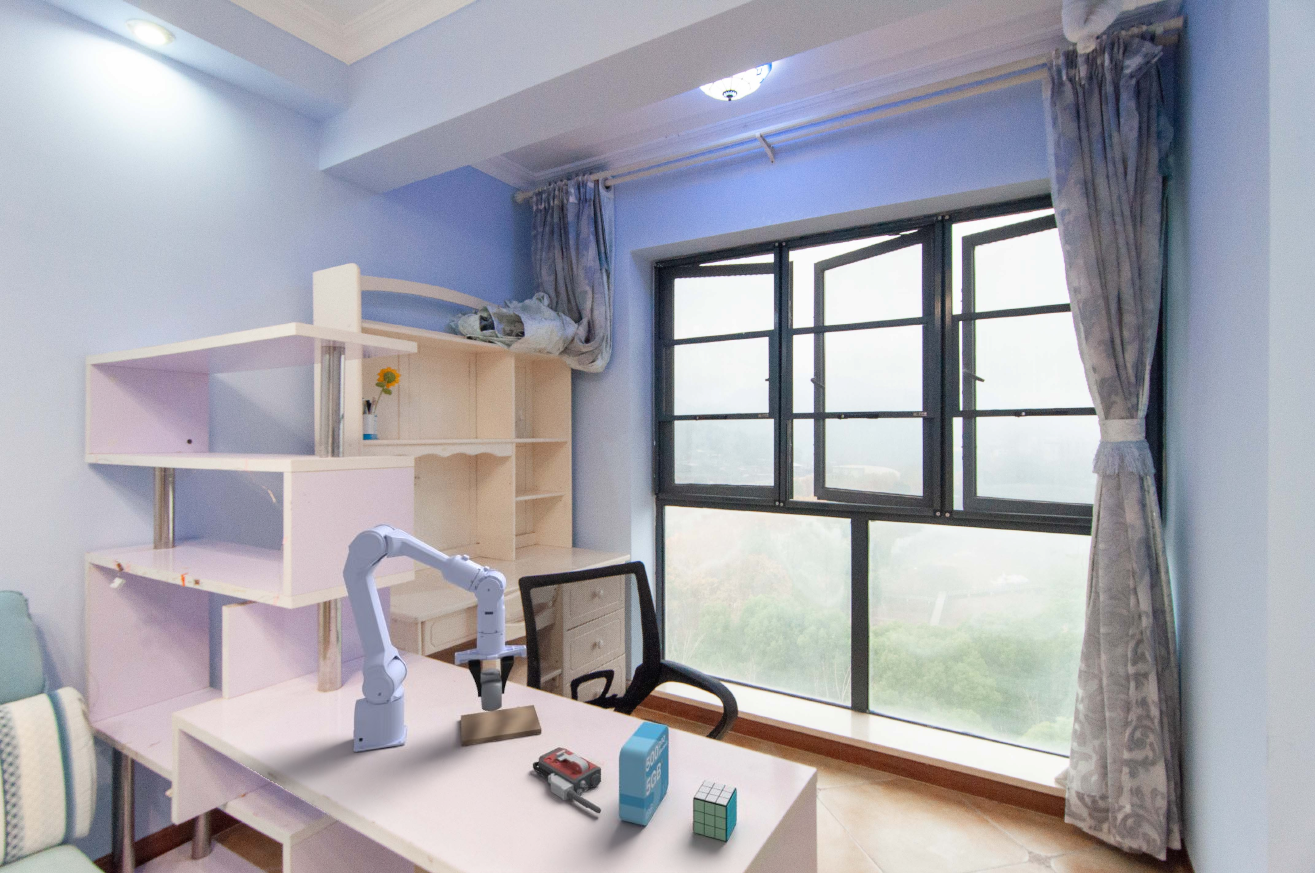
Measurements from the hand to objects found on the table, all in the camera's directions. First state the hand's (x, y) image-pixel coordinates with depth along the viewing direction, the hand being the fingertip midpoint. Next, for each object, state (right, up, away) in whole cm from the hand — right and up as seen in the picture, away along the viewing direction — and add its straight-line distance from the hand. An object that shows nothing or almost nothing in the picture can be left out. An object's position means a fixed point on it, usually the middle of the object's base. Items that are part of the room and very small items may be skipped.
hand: (491, 693), depth 127 cm
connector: (0, -1, +1) cm, 2 cm away
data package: (+33, -9, -25) cm, 42 cm away
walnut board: (+1, -8, +3) cm, 9 cm away
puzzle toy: (+45, -9, -30) cm, 55 cm away
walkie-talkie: (+21, -9, -19) cm, 29 cm away
